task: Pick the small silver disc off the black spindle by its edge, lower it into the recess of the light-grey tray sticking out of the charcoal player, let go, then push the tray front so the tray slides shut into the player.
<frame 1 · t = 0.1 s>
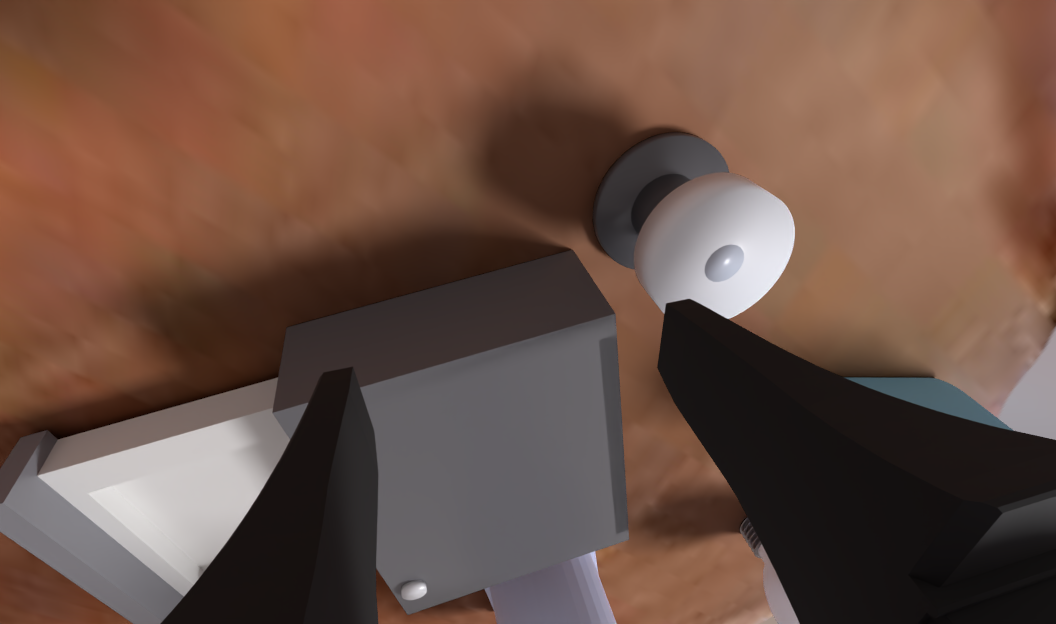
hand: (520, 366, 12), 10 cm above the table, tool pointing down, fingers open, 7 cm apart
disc: (701, 242, 20), point 4 cm above the table, touching spindle
tray: (236, 518, 24), point 2 cm above the table, slide at 11.0 cm
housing: (494, 406, 27), on the table
data package: (861, 398, 36), on the table
spindle: (659, 203, 23), on the table
light bulb: (762, 514, 42), on the table
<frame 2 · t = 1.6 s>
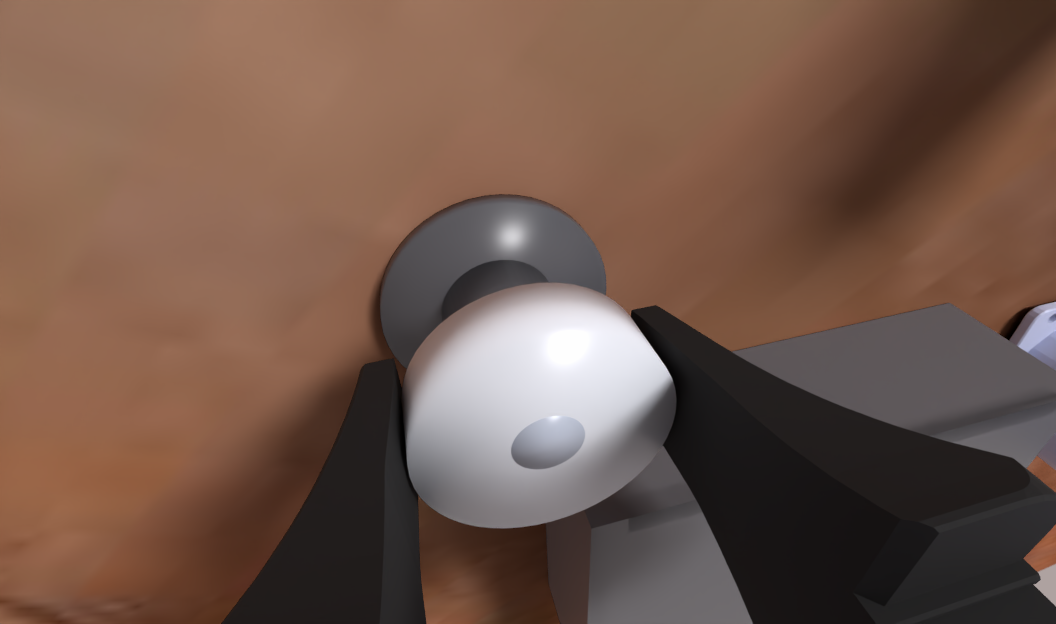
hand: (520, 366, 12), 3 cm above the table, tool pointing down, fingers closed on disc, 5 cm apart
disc: (527, 387, 12), point 4 cm above the table, touching gripper, spindle
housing: (733, 440, 21), on the table
spindle: (494, 299, 14), on the table
when the fingers open (2 cm above the table, at t = 5.4 s): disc drops 2 cm, resting on tray.
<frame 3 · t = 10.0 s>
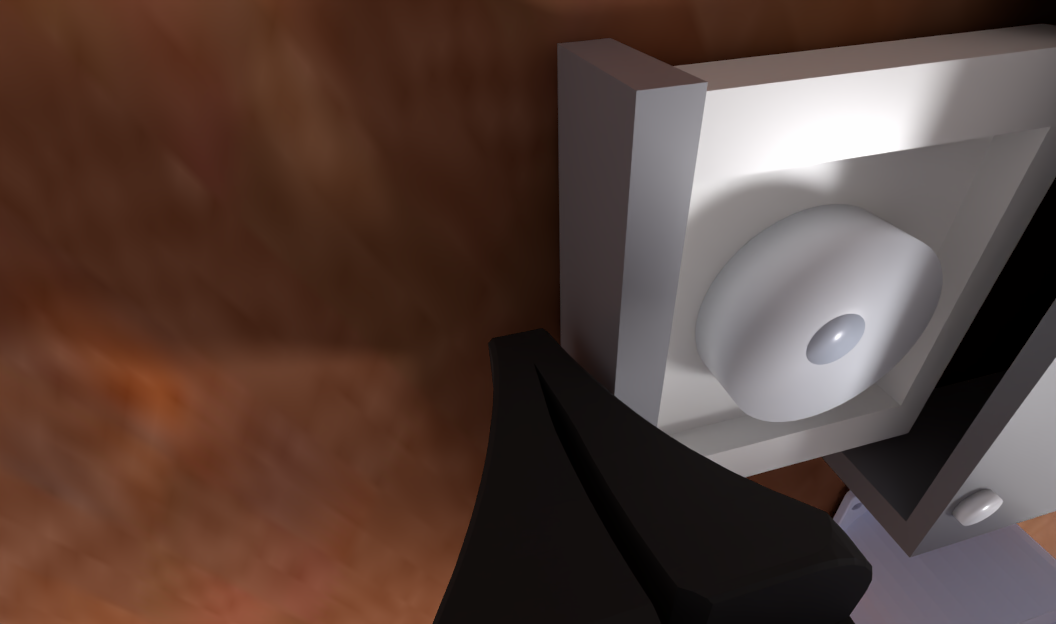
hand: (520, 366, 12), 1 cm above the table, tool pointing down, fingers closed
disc: (791, 301, 14), point 1 cm above the table, touching tray
tray: (802, 323, 13), point 2 cm above the table, slide at 9.6 cm, touching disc, gripper
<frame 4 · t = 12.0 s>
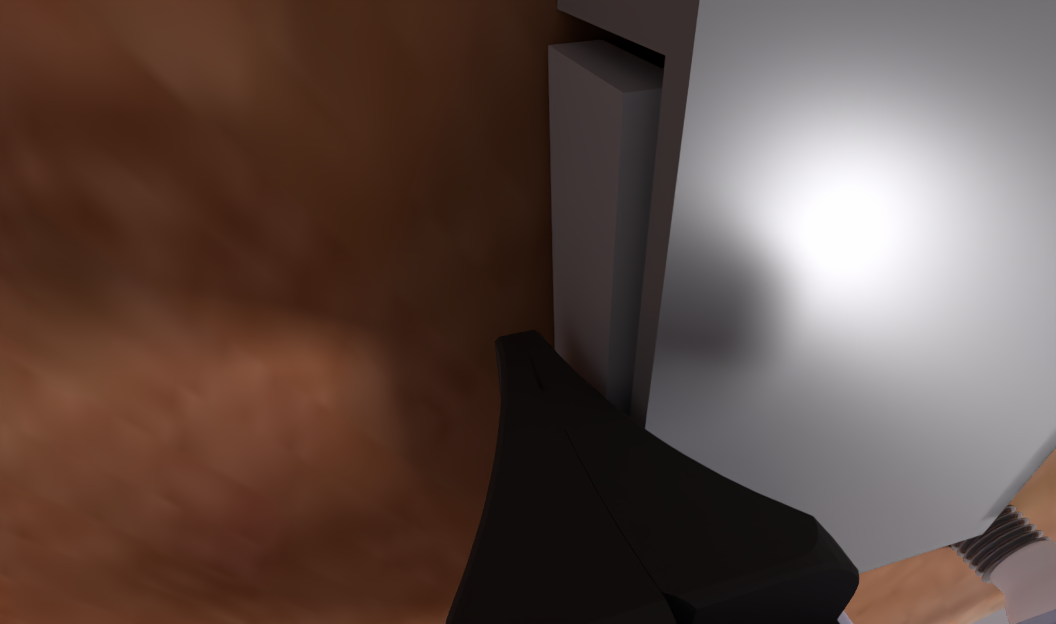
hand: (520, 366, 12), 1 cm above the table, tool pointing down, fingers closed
tray: (796, 325, 13), point 2 cm above the table, slide at 0.3 cm, touching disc, gripper
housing: (808, 269, 15), on the table
light bulb: (981, 522, 31), on the table
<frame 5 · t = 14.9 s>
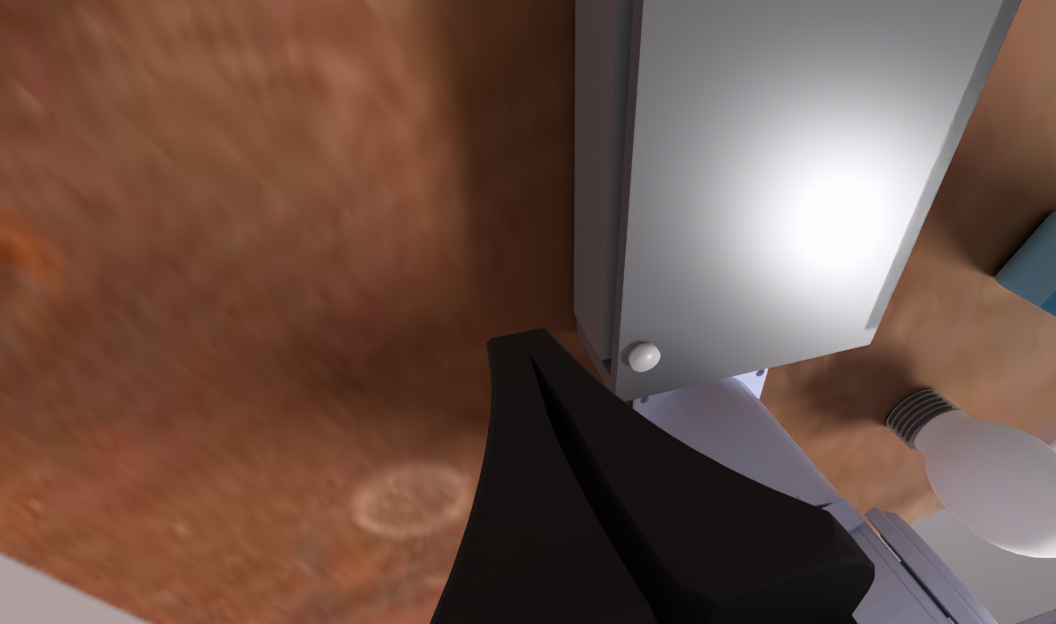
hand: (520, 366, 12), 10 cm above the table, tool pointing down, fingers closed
tray: (729, 175, 20), point 2 cm above the table, slide at 0.3 cm, touching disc
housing: (743, 151, 22), on the table
light bulb: (910, 404, 38), on the table
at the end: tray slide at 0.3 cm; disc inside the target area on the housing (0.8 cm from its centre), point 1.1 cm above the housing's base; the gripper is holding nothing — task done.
